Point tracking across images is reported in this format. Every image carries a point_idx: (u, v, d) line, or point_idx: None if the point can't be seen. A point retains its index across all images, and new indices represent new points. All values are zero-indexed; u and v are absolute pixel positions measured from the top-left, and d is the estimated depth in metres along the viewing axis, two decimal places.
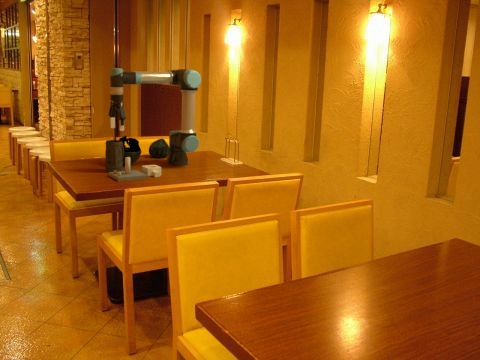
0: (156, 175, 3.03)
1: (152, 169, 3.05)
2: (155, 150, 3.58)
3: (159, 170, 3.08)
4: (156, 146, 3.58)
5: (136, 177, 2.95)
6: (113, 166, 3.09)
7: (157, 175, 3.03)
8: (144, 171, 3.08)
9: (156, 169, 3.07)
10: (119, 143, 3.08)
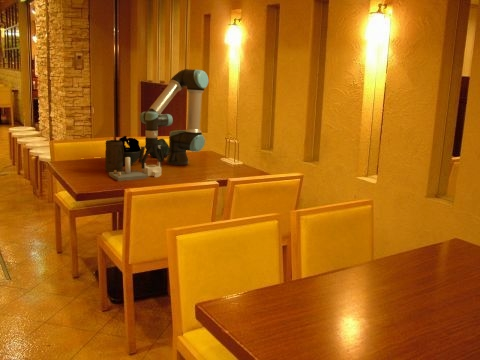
0: (156, 175, 3.03)
1: (152, 169, 3.05)
2: None
3: (159, 170, 3.08)
4: None
5: (136, 177, 2.95)
6: (113, 166, 3.09)
7: (157, 175, 3.03)
8: None
9: (156, 169, 3.07)
10: (119, 143, 3.08)
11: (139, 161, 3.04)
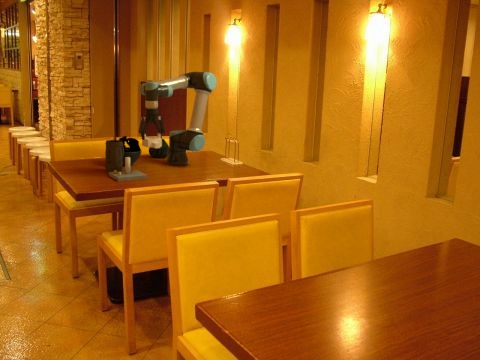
0: (156, 146, 2.99)
1: (152, 140, 3.01)
2: (155, 150, 3.58)
3: (159, 141, 3.04)
4: None
5: (136, 177, 2.95)
6: (113, 166, 3.09)
7: (157, 146, 2.99)
8: None
9: (156, 140, 3.03)
10: (119, 143, 3.08)
11: (139, 132, 3.00)
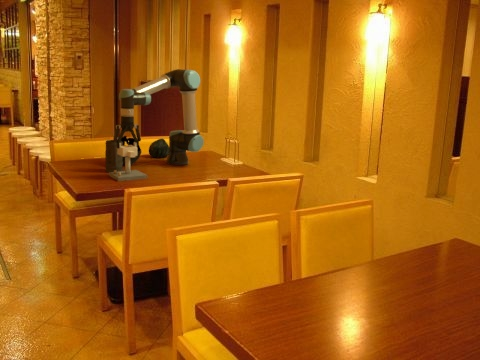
0: (131, 155, 2.90)
1: (127, 149, 2.92)
2: (155, 150, 3.58)
3: (135, 150, 2.95)
4: (156, 146, 3.58)
5: (136, 177, 2.95)
6: (113, 166, 3.09)
7: (133, 155, 2.90)
8: None
9: (132, 149, 2.94)
10: None
11: (114, 141, 2.91)
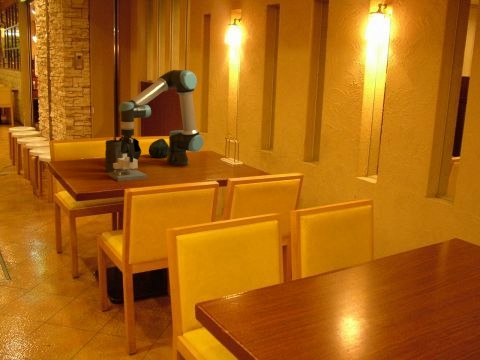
0: (113, 166, 2.95)
1: (119, 160, 2.97)
2: (155, 150, 3.58)
3: (122, 163, 2.93)
4: (156, 146, 3.58)
5: (136, 177, 2.95)
6: None
7: (114, 166, 2.94)
8: None
9: (121, 161, 2.95)
10: (119, 143, 3.08)
11: None
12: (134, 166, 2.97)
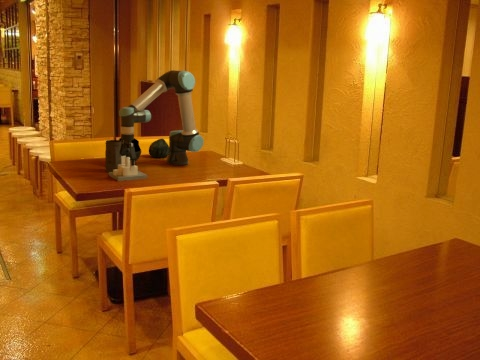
0: (113, 173, 2.96)
1: (119, 167, 2.98)
2: (155, 150, 3.58)
3: (122, 170, 2.94)
4: (156, 146, 3.58)
5: (136, 177, 2.95)
6: (113, 166, 3.09)
7: (114, 173, 2.95)
8: None
9: (121, 168, 2.96)
10: (119, 143, 3.08)
11: None
12: (134, 172, 2.98)
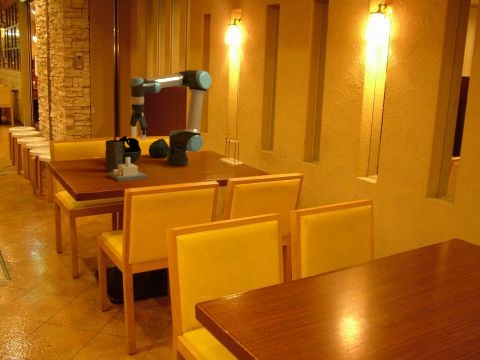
0: (113, 173, 2.96)
1: (119, 167, 2.98)
2: (155, 150, 3.58)
3: (122, 170, 2.94)
4: (156, 146, 3.58)
5: (136, 177, 2.95)
6: (113, 166, 3.09)
7: (114, 173, 2.95)
8: None
9: (121, 168, 2.96)
10: (119, 143, 3.08)
11: None
12: (134, 172, 2.98)
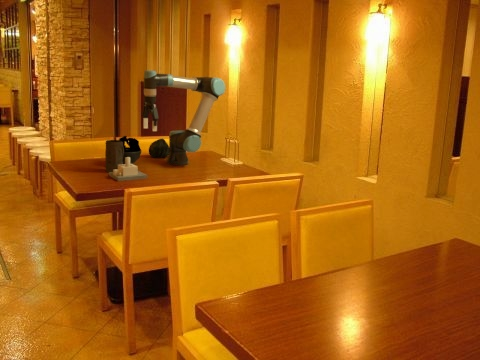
0: (113, 173, 2.96)
1: (119, 167, 2.98)
2: (155, 150, 3.58)
3: (122, 170, 2.94)
4: (156, 146, 3.58)
5: (136, 177, 2.95)
6: (113, 166, 3.09)
7: (114, 173, 2.95)
8: None
9: (121, 168, 2.96)
10: (119, 143, 3.08)
11: None
12: (134, 172, 2.98)
